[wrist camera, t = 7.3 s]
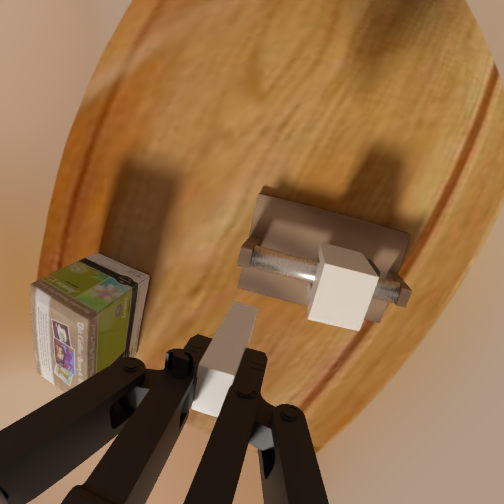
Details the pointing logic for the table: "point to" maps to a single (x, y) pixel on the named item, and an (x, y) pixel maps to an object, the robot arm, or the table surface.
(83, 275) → the tea box
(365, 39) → the table surface
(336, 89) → the table surface
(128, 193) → the table surface
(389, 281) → the pipe
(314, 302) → the sleeve
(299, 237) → the board
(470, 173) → the table surface
